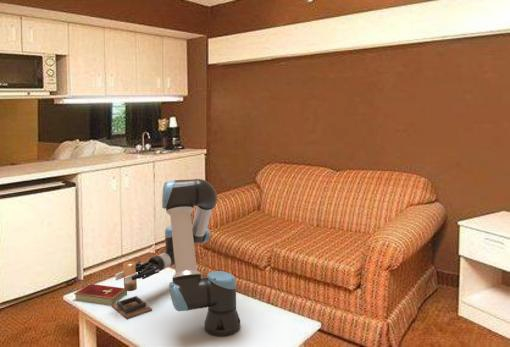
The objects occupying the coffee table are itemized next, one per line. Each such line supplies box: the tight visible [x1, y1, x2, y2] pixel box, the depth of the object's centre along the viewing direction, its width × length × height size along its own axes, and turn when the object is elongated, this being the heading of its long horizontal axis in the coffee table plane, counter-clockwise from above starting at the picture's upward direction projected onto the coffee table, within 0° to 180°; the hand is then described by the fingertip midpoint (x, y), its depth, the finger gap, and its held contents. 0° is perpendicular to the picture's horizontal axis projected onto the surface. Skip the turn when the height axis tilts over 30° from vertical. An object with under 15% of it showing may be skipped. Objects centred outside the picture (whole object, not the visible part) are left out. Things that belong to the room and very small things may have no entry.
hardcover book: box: [73, 283, 128, 306], centre depth 206 cm, size 12×21×4 cm, turn 74°
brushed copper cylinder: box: [122, 261, 138, 292], centre depth 193 cm, size 6×6×12 cm
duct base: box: [111, 295, 153, 320], centre depth 195 cm, size 16×12×3 cm
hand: (120, 279), depth 188 cm, fingers closed on brushed copper cylinder, 5 cm apart
